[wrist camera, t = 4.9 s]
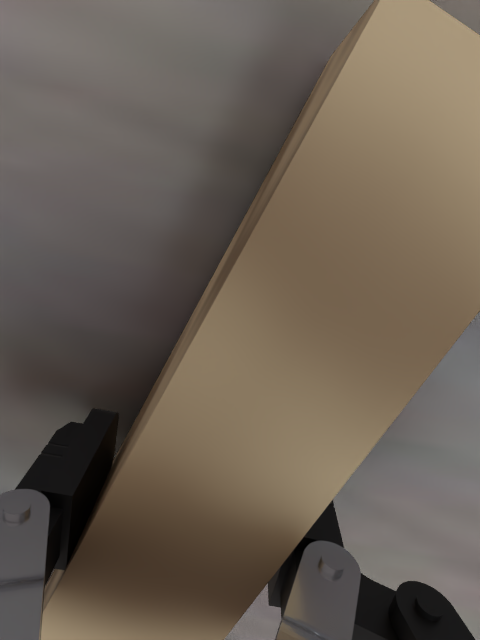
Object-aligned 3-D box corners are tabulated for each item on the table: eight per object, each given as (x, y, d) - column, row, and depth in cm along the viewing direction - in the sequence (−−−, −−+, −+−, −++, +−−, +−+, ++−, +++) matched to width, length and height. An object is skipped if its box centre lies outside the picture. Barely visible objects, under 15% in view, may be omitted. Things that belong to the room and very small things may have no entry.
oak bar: (330, 56, 11) (393, -24, 6) (465, 142, 11) (620, 130, 7) (27, 619, 18) (-55, 789, 13) (121, 655, 18) (74, 830, 13)
